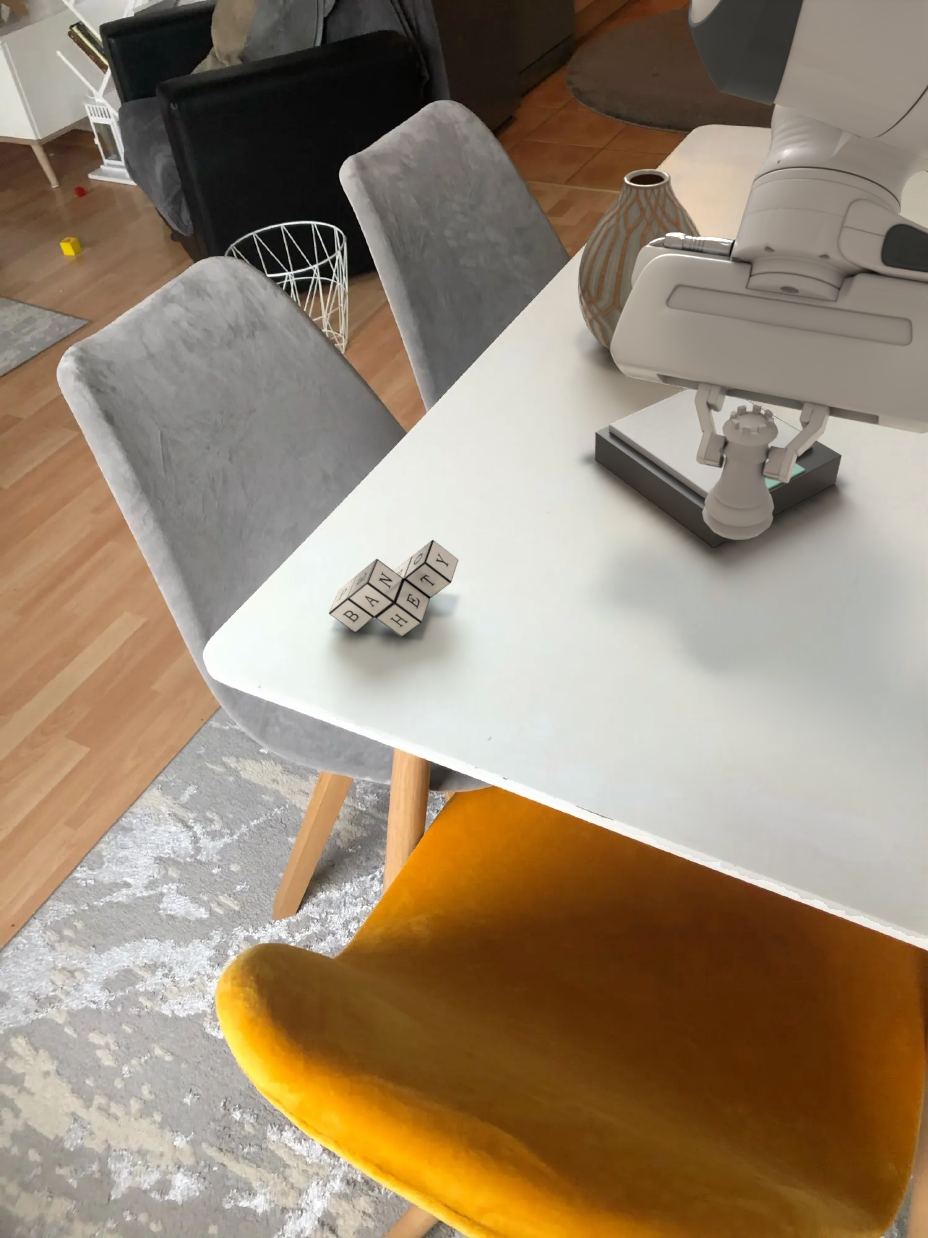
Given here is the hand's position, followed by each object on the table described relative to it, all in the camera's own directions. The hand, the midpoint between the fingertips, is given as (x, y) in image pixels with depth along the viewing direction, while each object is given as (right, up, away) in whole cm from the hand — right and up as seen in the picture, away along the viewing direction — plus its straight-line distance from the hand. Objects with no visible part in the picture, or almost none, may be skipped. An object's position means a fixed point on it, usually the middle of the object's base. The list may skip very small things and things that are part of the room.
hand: (742, 472), depth 59 cm
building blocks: (-22, -9, +18) cm, 30 cm away
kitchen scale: (+5, +4, +27) cm, 28 cm away
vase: (+2, +20, +44) cm, 49 cm away
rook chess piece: (+1, -3, +4) cm, 5 cm away
